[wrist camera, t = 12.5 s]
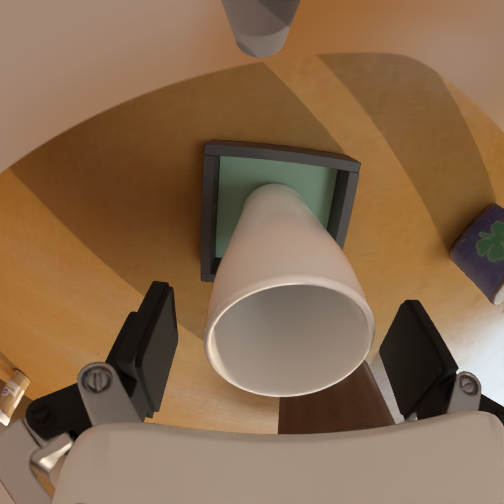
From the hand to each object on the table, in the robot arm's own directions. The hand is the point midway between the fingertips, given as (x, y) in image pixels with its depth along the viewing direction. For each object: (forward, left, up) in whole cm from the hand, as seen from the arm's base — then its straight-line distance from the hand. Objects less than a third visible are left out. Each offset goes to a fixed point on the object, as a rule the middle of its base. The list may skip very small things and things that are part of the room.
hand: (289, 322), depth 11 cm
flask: (-1, +23, -15) cm, 27 cm away
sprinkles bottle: (+41, -49, -15) cm, 65 cm away
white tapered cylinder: (0, 0, -14) cm, 14 cm away
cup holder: (0, 0, -15) cm, 15 cm away
